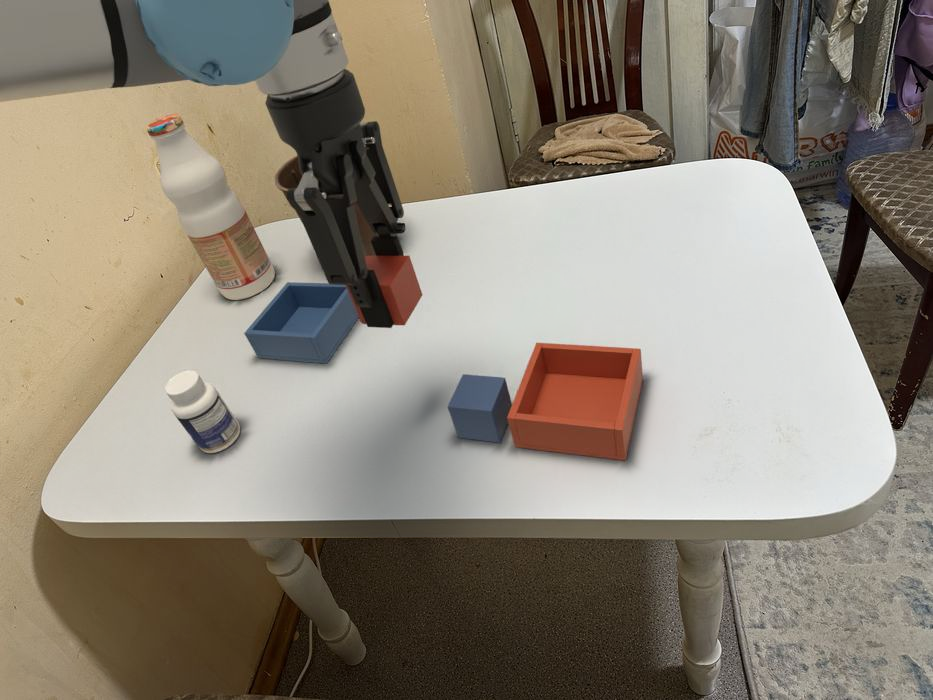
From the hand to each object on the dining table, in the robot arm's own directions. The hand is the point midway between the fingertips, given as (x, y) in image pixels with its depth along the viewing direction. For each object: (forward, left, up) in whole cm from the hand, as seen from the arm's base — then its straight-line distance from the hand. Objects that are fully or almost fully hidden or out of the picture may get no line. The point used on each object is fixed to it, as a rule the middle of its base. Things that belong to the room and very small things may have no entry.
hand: (391, 307), depth 68 cm
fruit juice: (-42, +22, -15) cm, 50 cm away
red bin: (+18, +1, -15) cm, 23 cm away
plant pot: (-25, +31, -15) cm, 43 cm away
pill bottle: (-25, -9, -15) cm, 31 cm away
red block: (0, 0, 0) cm, 0 cm away
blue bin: (-23, +11, -15) cm, 30 cm away
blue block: (+8, -2, -15) cm, 17 cm away
